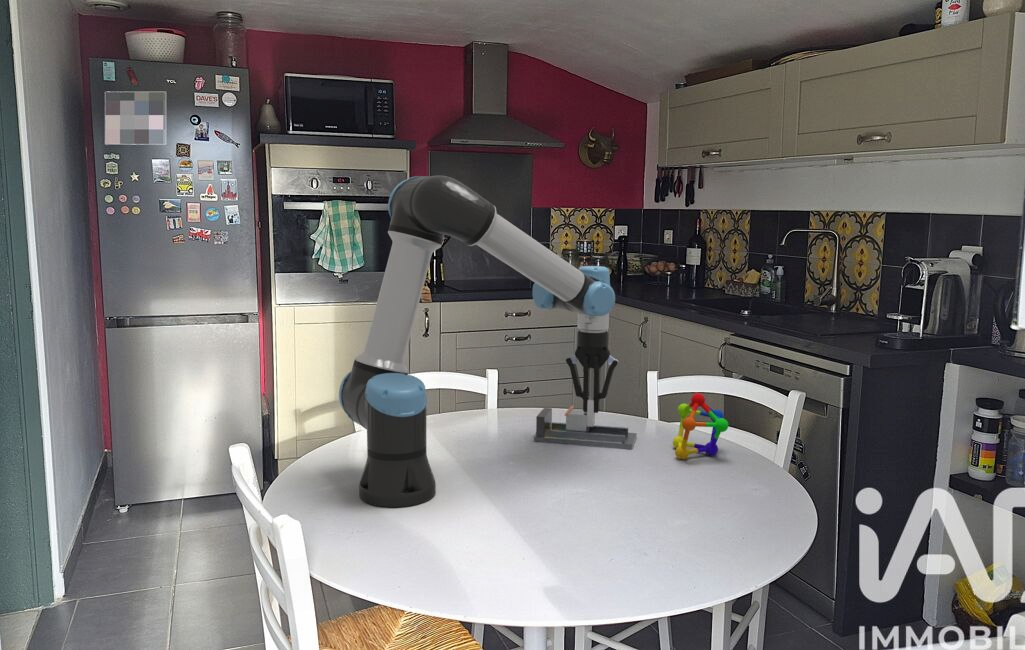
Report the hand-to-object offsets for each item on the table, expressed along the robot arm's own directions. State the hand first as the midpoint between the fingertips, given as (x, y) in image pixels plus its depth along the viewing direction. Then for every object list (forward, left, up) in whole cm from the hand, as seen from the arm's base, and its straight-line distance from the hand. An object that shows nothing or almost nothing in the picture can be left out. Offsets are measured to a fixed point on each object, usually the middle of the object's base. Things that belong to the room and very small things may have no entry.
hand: (590, 425), depth 201 cm
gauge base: (-1, 0, -4) cm, 4 cm away
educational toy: (+26, -4, -4) cm, 27 cm away
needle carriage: (-3, 0, -2) cm, 4 cm away
